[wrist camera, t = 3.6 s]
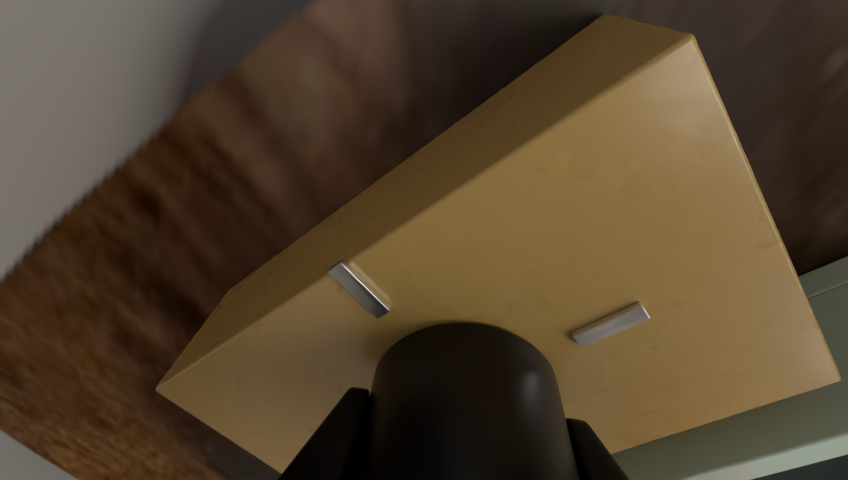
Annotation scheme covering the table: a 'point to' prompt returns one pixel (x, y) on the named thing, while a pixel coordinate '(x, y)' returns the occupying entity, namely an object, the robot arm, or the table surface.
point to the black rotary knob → (464, 410)
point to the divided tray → (769, 418)
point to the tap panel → (537, 261)
